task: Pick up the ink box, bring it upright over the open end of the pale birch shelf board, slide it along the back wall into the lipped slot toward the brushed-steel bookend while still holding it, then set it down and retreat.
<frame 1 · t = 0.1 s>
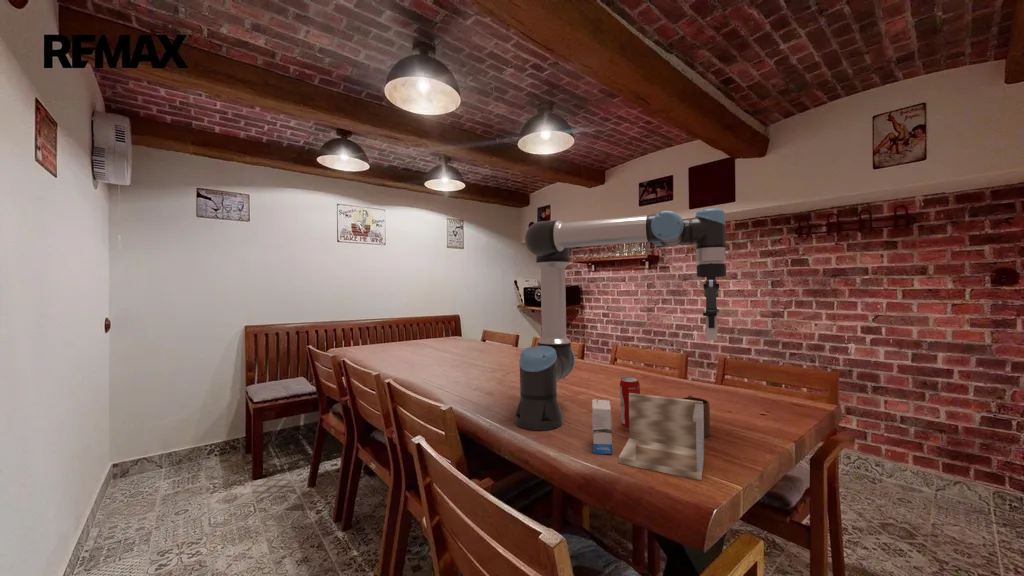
hand: (712, 337, 109), 28 cm above the table, fingers open, 13 cm apart
beverage can: (630, 428, 115), on the table
ink box: (602, 448, 101), on the table
mug: (693, 430, 112), on the table
bookend: (700, 466, 90), resting on shelf
shelf: (662, 458, 94), on the table
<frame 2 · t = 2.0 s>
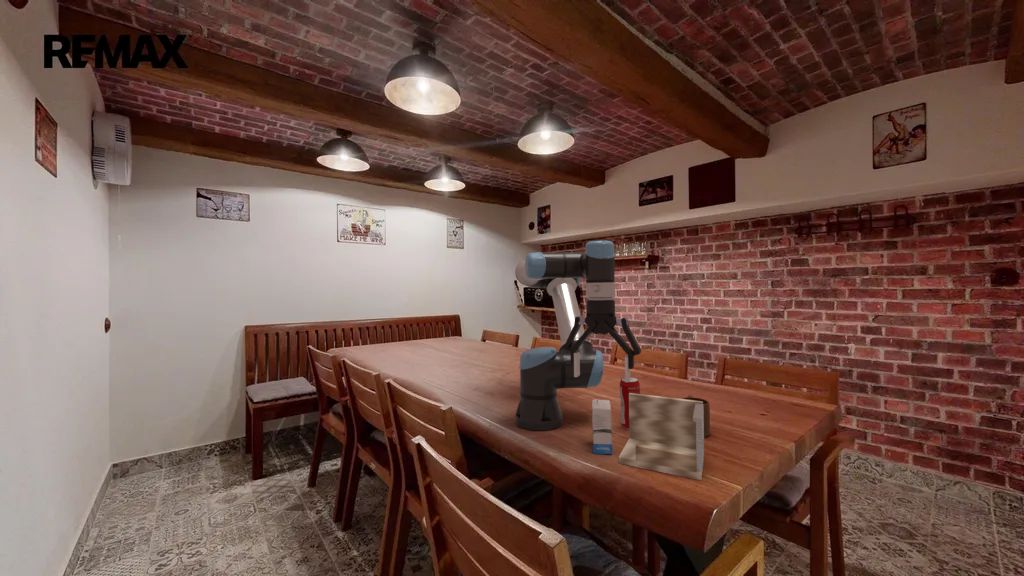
hand: (601, 378, 101), 18 cm above the table, fingers open, 13 cm apart
nothing on the table moved.
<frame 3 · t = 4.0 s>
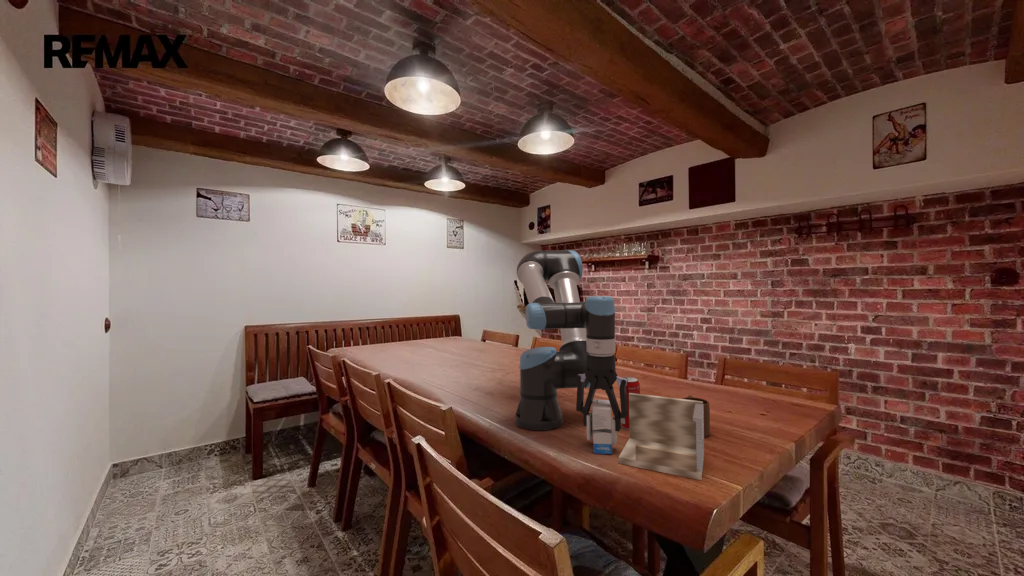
hand: (602, 440, 101), 2 cm above the table, fingers closed on ink box, 6 cm apart
ink box: (602, 448, 101), on the table, touching gripper
everything else where it was.
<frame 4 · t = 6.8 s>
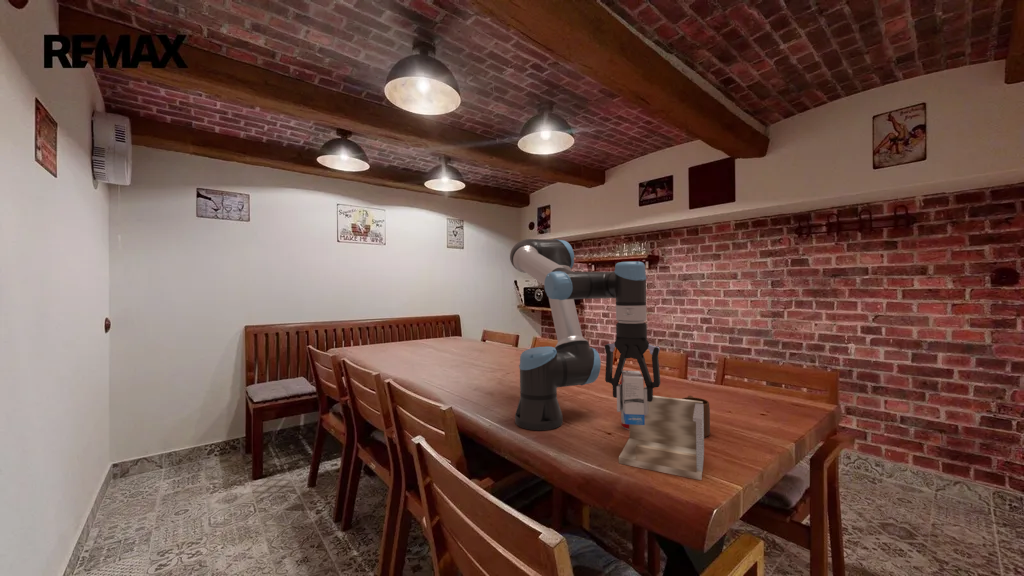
hand: (632, 411, 97), 11 cm above the table, fingers closed on ink box, 6 cm apart
ink box: (632, 420, 97), point 9 cm above the table, touching gripper
everything else where it was.
when the fingers open (4 cm above the table, at t = 9.8 s): ink box stays where it is, resting on shelf.
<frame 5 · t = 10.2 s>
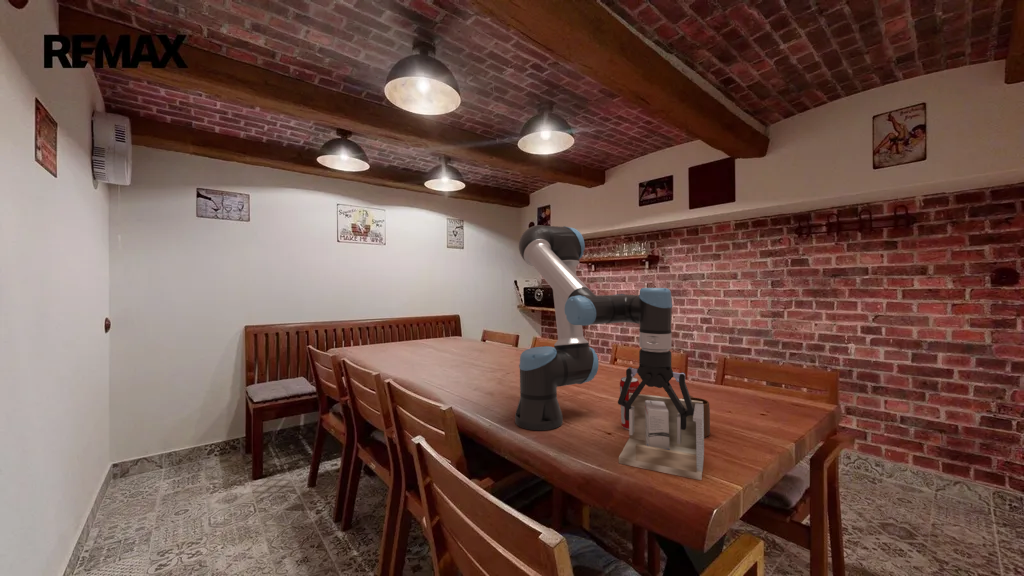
hand: (654, 437, 95), 5 cm above the table, fingers open, 10 cm apart
ink box: (657, 452, 95), point 1 cm above the table, touching shelf
everything else where it was.
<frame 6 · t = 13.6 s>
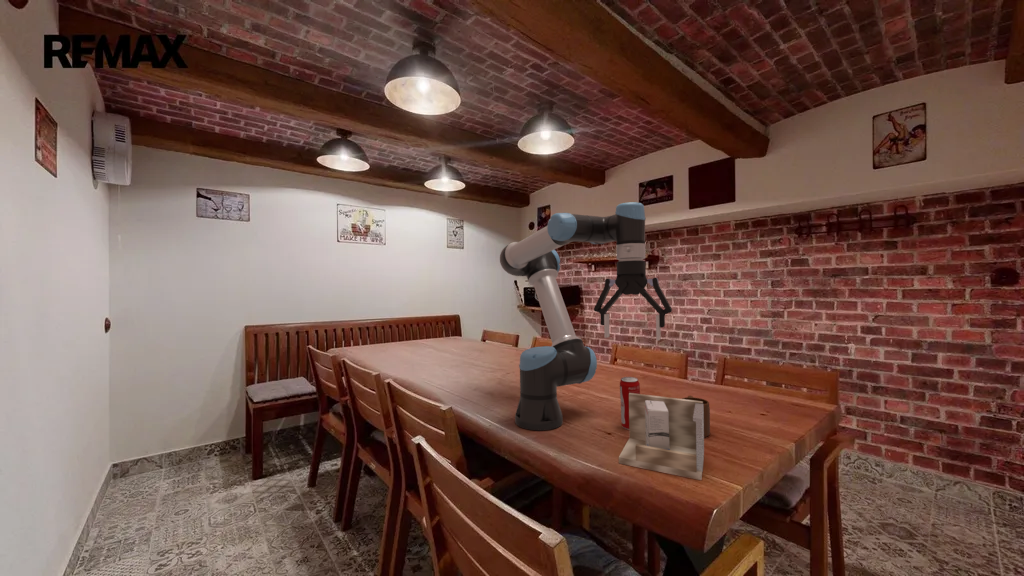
hand: (631, 338, 103), 29 cm above the table, fingers open, 13 cm apart
nothing on the table moved.
at the end: ink box inside the target area on the shelf (2.1 cm from its centre), point 1.3 cm above the shelf's base; ink box tilted 0°; the gripper is holding nothing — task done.
